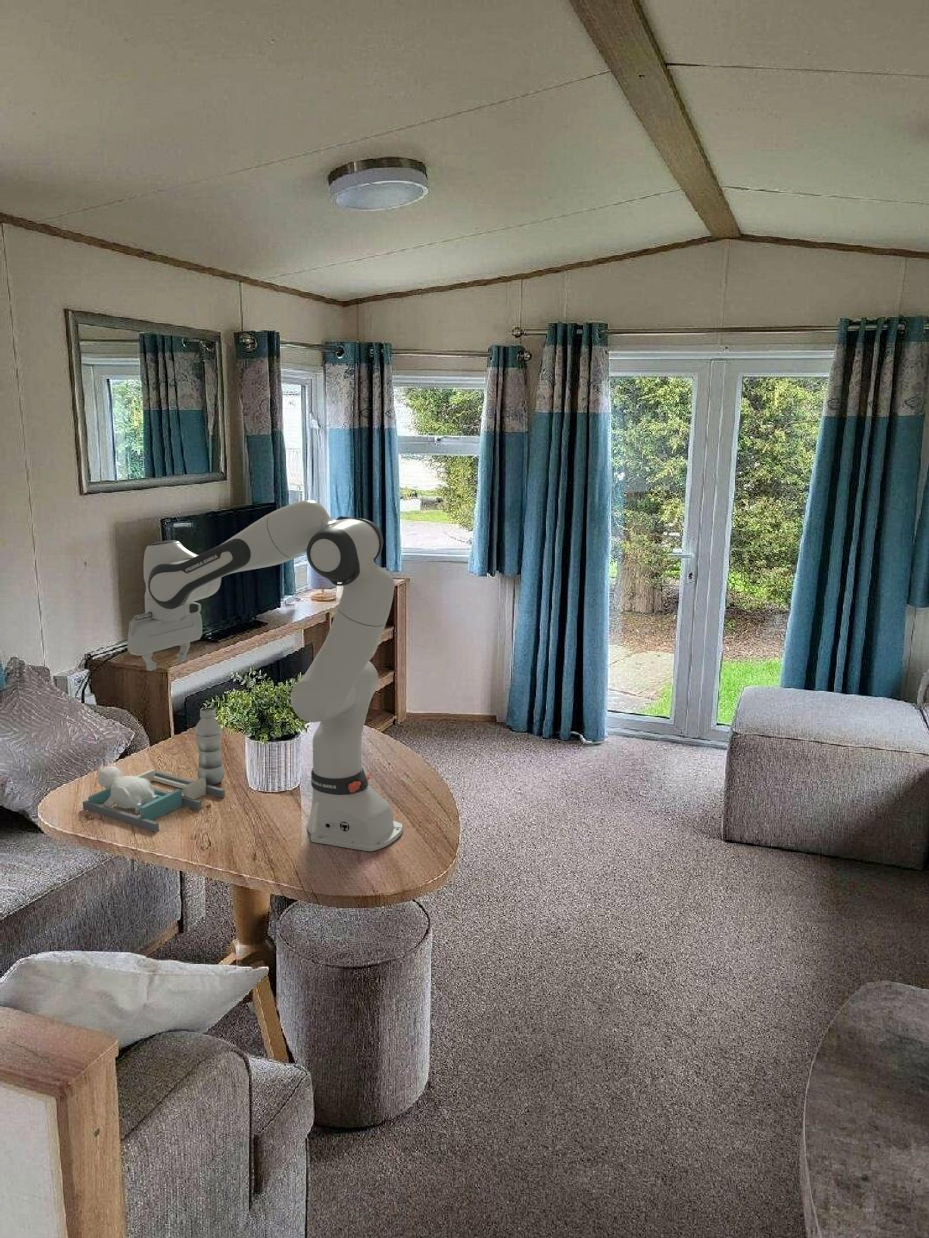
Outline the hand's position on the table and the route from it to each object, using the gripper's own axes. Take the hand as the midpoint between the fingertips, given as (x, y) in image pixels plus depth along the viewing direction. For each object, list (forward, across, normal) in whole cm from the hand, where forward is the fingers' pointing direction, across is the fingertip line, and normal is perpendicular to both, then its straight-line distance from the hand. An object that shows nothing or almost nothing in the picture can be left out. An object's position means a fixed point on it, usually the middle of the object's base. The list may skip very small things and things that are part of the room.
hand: (166, 665), depth 207 cm
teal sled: (+34, -7, +4) cm, 35 cm away
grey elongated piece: (+34, +3, +4) cm, 35 cm away
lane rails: (+35, -3, +2) cm, 35 cm away
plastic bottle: (+35, +13, -1) cm, 37 cm away
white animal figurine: (+35, -7, +8) cm, 37 cm away
